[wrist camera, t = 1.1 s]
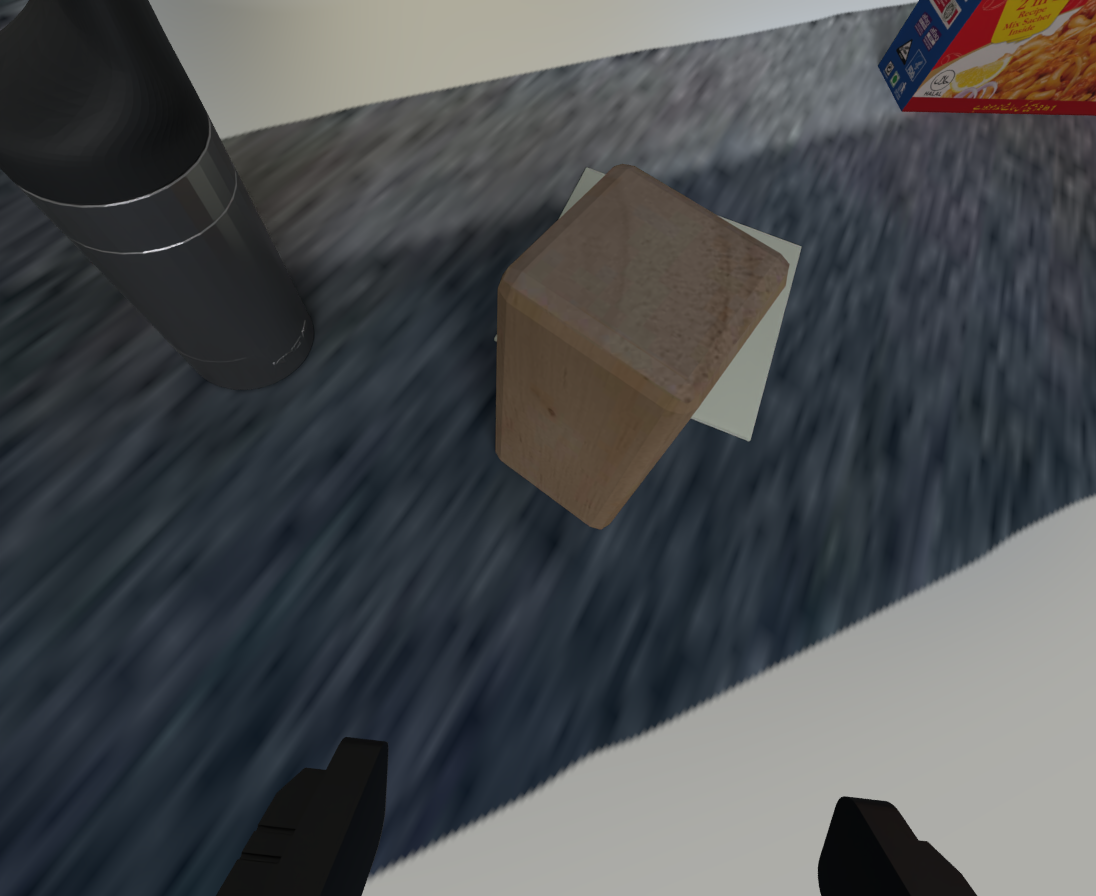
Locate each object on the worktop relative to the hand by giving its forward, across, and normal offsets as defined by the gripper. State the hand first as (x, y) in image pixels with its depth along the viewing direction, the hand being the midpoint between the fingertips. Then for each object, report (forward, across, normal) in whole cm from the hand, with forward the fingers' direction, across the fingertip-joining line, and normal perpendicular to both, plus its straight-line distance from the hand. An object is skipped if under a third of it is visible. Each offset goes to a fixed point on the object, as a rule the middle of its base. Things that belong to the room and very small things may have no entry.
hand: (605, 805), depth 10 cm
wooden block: (+32, -1, +2) cm, 33 cm away
